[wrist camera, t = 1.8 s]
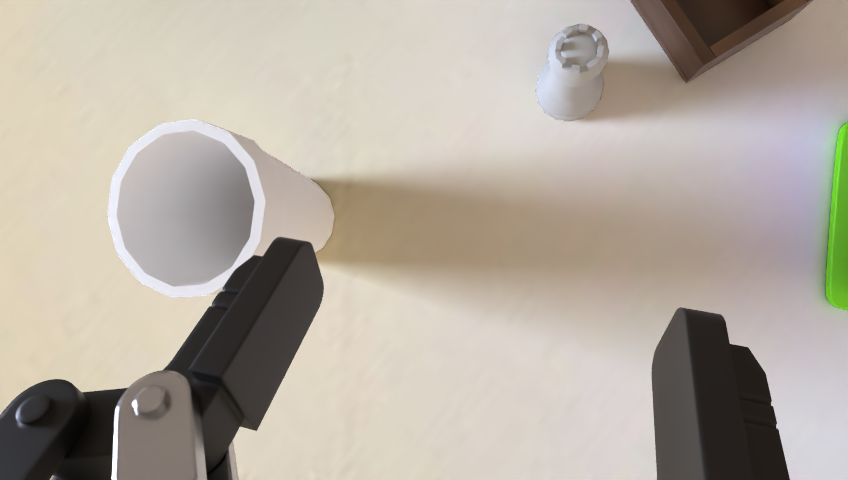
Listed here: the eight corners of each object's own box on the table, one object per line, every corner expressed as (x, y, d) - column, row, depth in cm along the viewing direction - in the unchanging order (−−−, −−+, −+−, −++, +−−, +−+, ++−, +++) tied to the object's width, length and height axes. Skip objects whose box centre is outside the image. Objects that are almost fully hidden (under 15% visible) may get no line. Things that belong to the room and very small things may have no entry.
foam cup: (317, 135, 38) (213, 84, 26) (375, 239, 38) (296, 239, 25) (222, 198, 40) (81, 180, 27) (275, 299, 39) (154, 328, 27)
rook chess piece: (525, 76, 35) (524, 29, 27) (586, 47, 34) (603, -10, 27) (550, 133, 35) (556, 102, 27) (612, 105, 34) (637, 65, 26)
